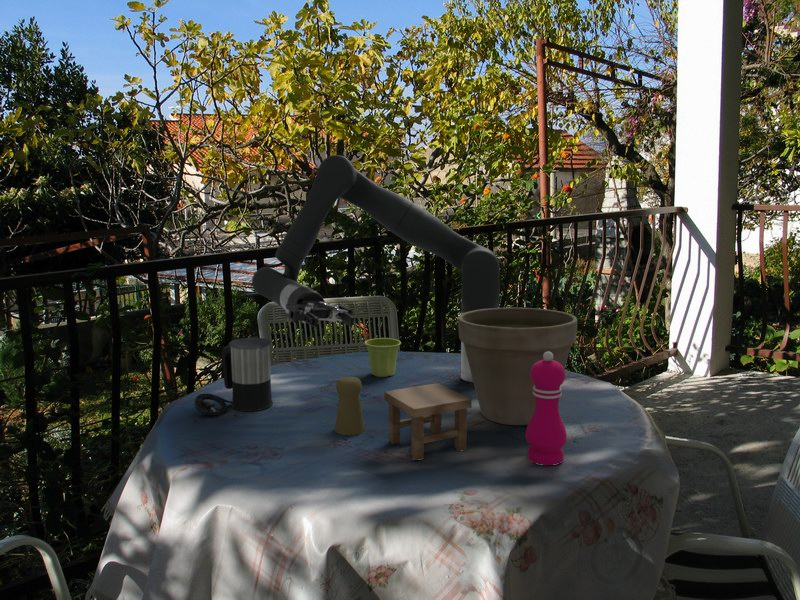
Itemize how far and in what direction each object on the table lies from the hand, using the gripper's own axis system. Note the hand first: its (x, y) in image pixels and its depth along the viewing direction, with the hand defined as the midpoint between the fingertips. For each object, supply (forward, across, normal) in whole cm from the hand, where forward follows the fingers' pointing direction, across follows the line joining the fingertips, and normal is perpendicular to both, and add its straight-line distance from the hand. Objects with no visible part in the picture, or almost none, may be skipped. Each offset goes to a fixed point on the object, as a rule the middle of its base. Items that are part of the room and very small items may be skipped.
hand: (334, 322), depth 147 cm
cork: (+12, 0, +19) cm, 23 cm away
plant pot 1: (-19, +27, +21) cm, 39 cm away
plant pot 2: (+24, +33, +15) cm, 44 cm away
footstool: (+28, +7, +16) cm, 33 cm away
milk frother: (-14, -14, +24) cm, 31 cm away
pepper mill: (+45, +21, +13) cm, 52 cm away
